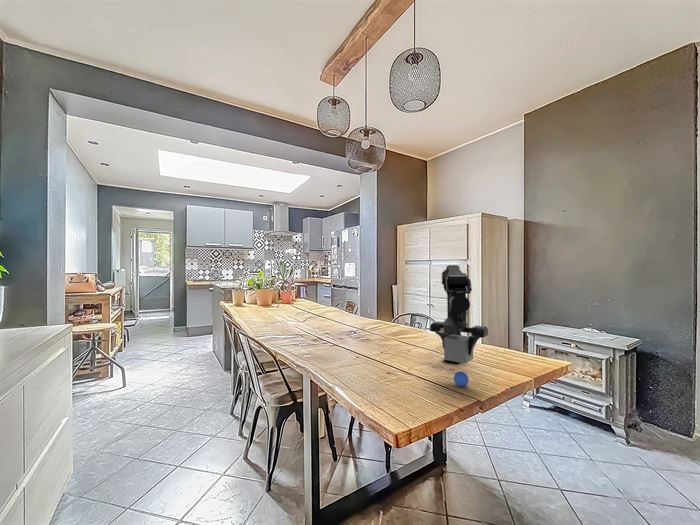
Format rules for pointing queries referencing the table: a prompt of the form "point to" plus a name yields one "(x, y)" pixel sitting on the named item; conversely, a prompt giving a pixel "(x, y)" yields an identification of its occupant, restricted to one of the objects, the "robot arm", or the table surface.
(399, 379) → the table surface
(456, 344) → the concrete-looking gray cube
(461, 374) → the ball
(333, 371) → the table surface
